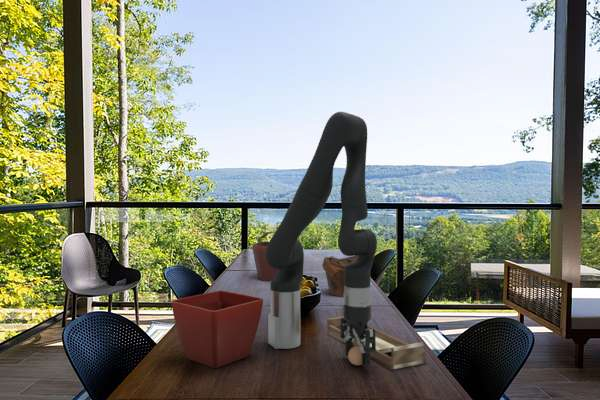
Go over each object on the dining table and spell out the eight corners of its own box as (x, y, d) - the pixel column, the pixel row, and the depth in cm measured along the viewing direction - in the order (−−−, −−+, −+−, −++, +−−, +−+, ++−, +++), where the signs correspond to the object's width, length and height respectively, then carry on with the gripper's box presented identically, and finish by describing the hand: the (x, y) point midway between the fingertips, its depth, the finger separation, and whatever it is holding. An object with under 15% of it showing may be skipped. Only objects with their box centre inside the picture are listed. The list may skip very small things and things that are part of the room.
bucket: (248, 276, 262) (248, 230, 261) (285, 273, 271) (285, 229, 270) (264, 284, 240) (263, 234, 239) (303, 280, 249) (303, 232, 248)
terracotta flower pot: (313, 293, 219) (314, 254, 218) (343, 287, 232) (344, 250, 232) (341, 301, 206) (342, 259, 205) (372, 294, 219) (372, 255, 218)
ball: (354, 369, 129) (354, 350, 128) (344, 363, 133) (344, 345, 133) (369, 366, 131) (370, 348, 131) (359, 360, 135) (360, 342, 135)
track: (391, 370, 128) (391, 348, 128) (327, 333, 160) (327, 315, 160) (426, 363, 133) (426, 341, 133) (358, 329, 165) (358, 311, 165)
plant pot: (221, 342, 151) (220, 289, 151) (265, 356, 139) (265, 298, 138) (169, 359, 136) (169, 300, 136) (214, 376, 124) (213, 311, 124)
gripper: (332, 298, 136) (332, 354, 137) (359, 309, 123) (359, 372, 124) (355, 295, 139) (355, 350, 140) (384, 306, 127) (383, 367, 127)
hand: (357, 360), depth 132 cm, fingers open, 8 cm apart
